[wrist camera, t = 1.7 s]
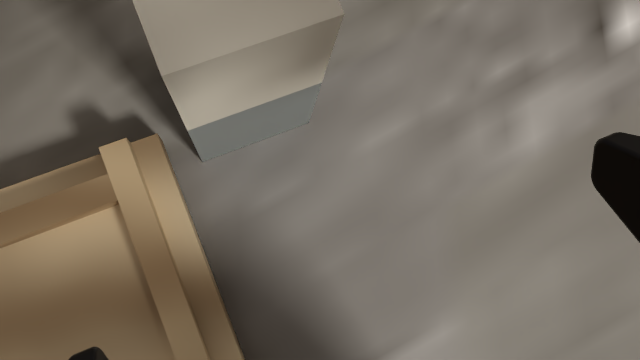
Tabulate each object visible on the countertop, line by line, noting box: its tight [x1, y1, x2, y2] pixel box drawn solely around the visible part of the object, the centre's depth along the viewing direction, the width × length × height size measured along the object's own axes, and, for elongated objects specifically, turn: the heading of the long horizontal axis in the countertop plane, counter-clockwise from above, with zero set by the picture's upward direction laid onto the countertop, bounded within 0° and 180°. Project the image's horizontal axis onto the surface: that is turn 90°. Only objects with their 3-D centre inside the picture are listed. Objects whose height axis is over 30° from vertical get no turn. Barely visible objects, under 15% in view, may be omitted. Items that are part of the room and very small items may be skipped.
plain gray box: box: [132, 0, 344, 162], centre depth 19 cm, size 4×4×10 cm
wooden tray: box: [0, 134, 245, 360], centre depth 20 cm, size 11×11×2 cm
